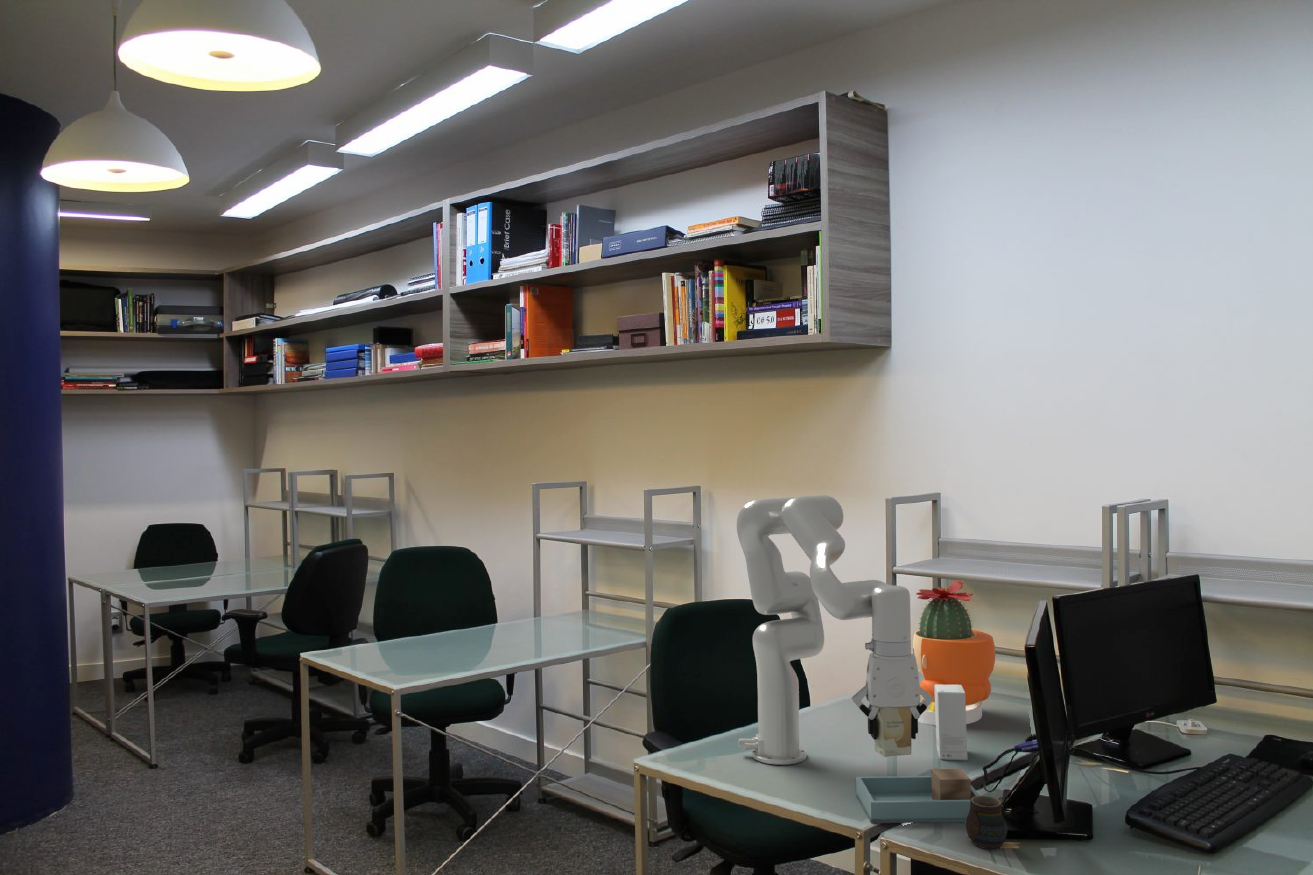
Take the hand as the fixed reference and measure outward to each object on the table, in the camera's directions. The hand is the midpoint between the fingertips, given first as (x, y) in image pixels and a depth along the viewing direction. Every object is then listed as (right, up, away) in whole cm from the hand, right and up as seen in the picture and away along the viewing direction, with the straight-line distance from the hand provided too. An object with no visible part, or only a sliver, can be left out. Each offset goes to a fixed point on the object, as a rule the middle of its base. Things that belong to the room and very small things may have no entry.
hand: (893, 736), depth 194 cm
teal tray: (+5, -14, 0) cm, 15 cm away
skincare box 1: (0, -3, 0) cm, 3 cm away
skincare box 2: (+21, -14, +32) cm, 41 cm away
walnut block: (+12, -14, 0) cm, 18 cm away
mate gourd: (+13, -15, -17) cm, 26 cm away
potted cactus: (+31, -14, +62) cm, 71 cm away
